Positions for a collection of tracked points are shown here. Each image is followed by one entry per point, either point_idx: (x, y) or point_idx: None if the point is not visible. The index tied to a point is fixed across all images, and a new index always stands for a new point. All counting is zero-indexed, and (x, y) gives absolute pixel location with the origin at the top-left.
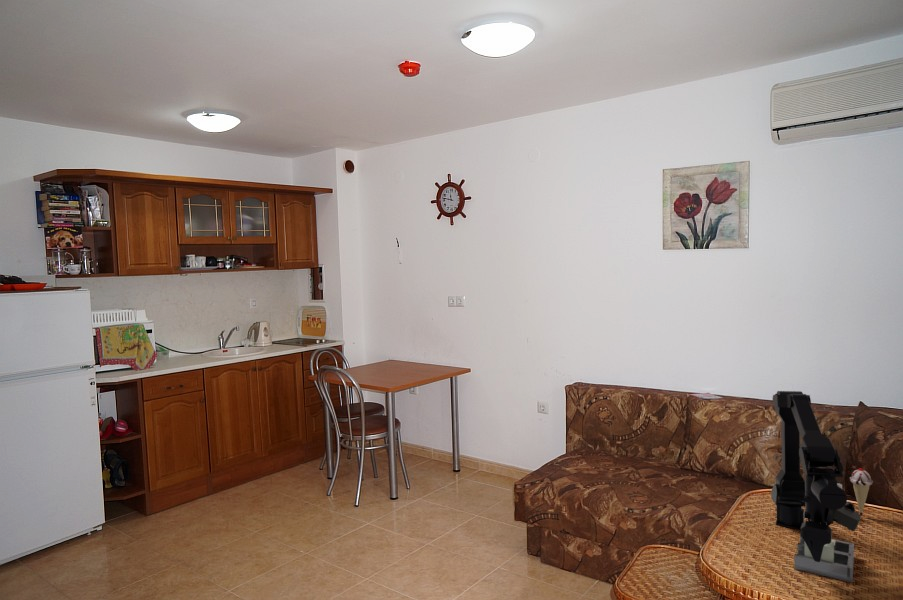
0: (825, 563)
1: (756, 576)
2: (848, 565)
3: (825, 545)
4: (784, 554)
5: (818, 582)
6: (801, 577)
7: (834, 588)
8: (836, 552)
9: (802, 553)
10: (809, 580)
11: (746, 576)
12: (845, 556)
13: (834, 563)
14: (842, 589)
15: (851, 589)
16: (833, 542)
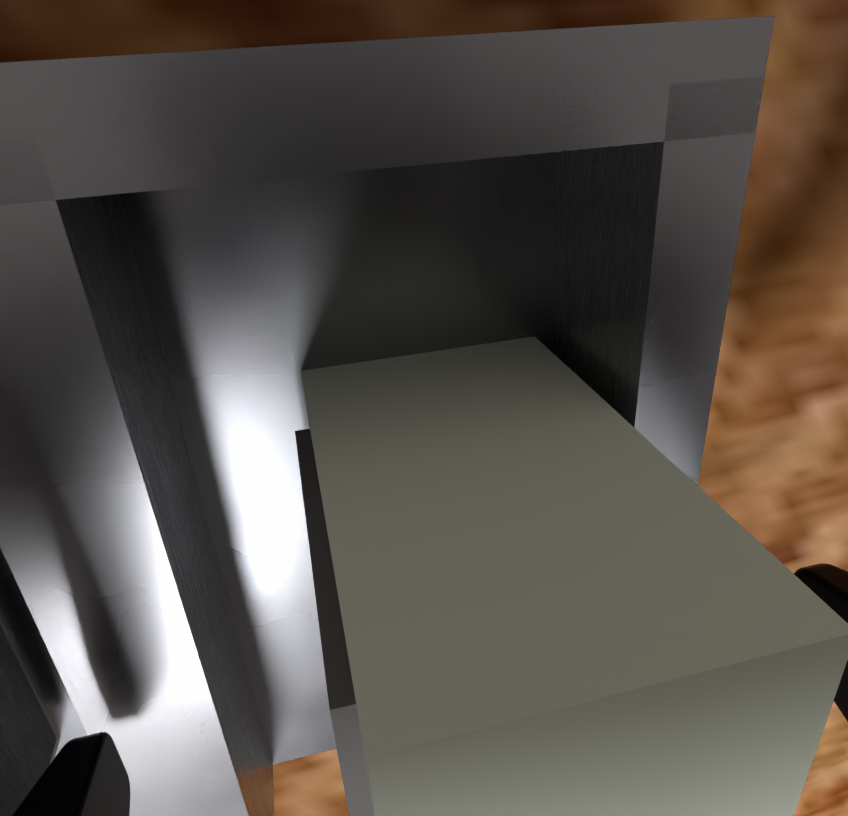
0: None
1: (819, 756)
2: (641, 119)
3: (753, 791)
4: (280, 807)
5: (757, 409)
6: None
7: (840, 236)
8: (84, 464)
9: (262, 747)
10: (745, 485)
11: (838, 787)
12: (86, 260)
13: (674, 377)
14: (838, 144)
15: (803, 27)
16: (406, 757)
